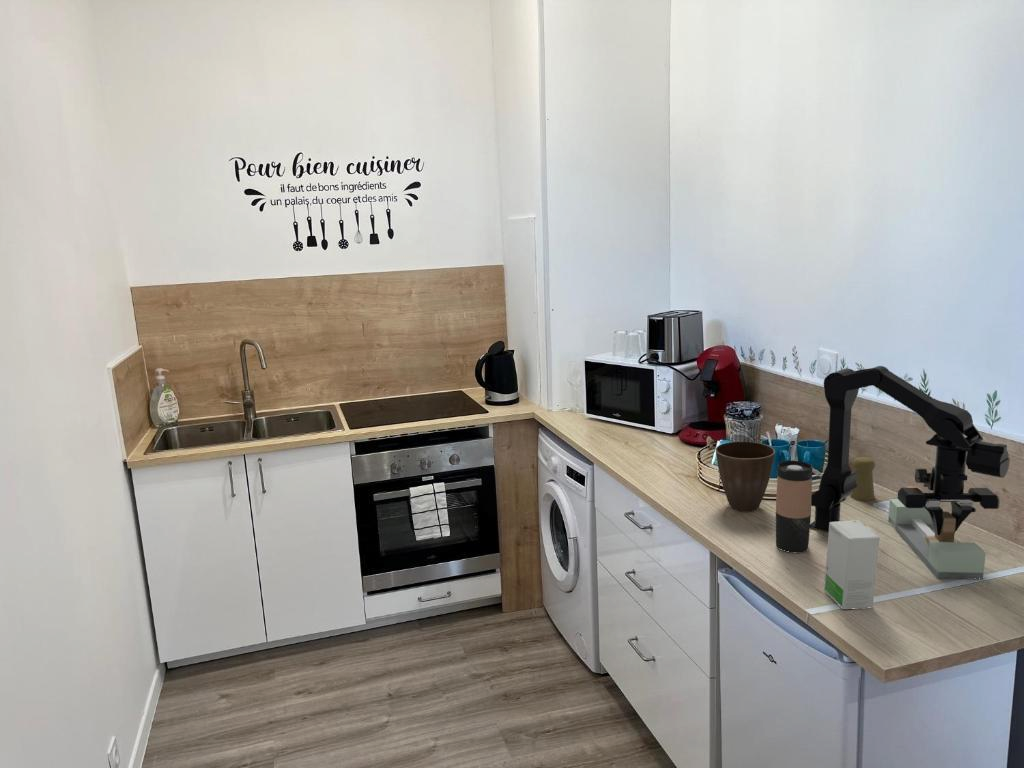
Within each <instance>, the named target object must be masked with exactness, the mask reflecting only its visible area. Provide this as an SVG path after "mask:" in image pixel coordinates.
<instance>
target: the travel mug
mask: <svg viewBox="0 0 1024 768" xmlns="http://www.w3.org/2000/svg"><path fill="white" fill-rule="evenodd" d="M812 488H813V465H812V464H810V463H808V462H805V461H802V460H783V461H781V462H779V463H778V464H777V478H776V497H775V499H776V502H775V546H776V548H777V547H778V548H780V549H782V550H785V551H789V552H802V553H805V552H807V551H808V550H809V544H810V543H809V542H810V530H811V527H810V524H811V521H812V519H811V517H812V506H811V497H812V494H813V490H812ZM778 548H777V549H778ZM780 549H779V550H780ZM807 549H808V550H807ZM782 550H781V551H782ZM806 550H807V551H806ZM785 551H784V552H785ZM804 551H805V552H804ZM789 552H788V553H789Z"/></svg>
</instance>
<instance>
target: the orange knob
mask: <svg viewBox="0 0 1024 768" xmlns="http://www.w3.org/2000/svg"><path fill="white" fill-rule="evenodd" d="M906 488H918V489H920V490H921V491H922V488H920V487H918V486H910V485H909V486H907V487H906Z"/></svg>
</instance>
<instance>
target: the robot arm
mask: <svg viewBox="0 0 1024 768" xmlns="http://www.w3.org/2000/svg"><path fill="white" fill-rule="evenodd" d="M871 386H873V387H875V388H877V389H878V390H879V391H881V392H883V394H886V395H887V396H889V397H891V398H893V399H894V400H896V401H897V402H898V403H900V404H902V405H903V406H905V407H906V408H908V409H909V410H911V411H913V413H915V414H917V415H919V416H920V417H921V418H922V419H923V421H924V422H925V424H926V425H927V426H928V428H929V429H931V430H932V431H933V432H934V433H935V434H934V435H933V436H932V437H931V438H930V439H928V440H926V441H925V444H926V445H927V446H928V445H929V446H934V447H936V448H935V449H936V450H935V458H934V459H935V461H934V467H932V469H931V472H928V470H927V468H915V471H914V482H915V484H923V487H924V488H927V489H928V490H929V491H932V492H923V491H922V489H921V490H920V489H918V488H919V487H918V488H907V487H900V489H898V491H897V499H898V500H899V501H900V502H901V503H902V504H903V505H904V506H905V507H907V508H923V507H924V508H925V509H926V510H927V511H928V512H929V514H930V516H931V519H932V522H933V526H934V529H935V532H936V534H937V535H940V532H941V525H942V515H943V512H944V510H943V508H942V507H940V503H950V505H951V513H950V514H951V515H952V516H954V517H955V518H956V524H955V533H956V532H957V531H958V529H959V528H960V526H961V525H962V524H963V523H964V521H965V520H967V518H968V517H969V516H970V514H971V513H976V511H977V509H976V508H975V507H974V505H975V504H974V503H979V506H981V507H982V508H983V509H986V510H987V509H988V510H998V509H999V508H1000V497H999V496H998V495H997V494H996V493H994V492H993V491H992V490H990V489H989V488H988V487H970V488H969V489H968V492H964V489H965V488H964V487H965V481H968V475H967V474H966V467H967V469H968V470H970V471H971V472H972V473H976V474H981V475H985V476H991V477H995V478H1001V479H1004V478H1005V476H1006V475H1007V473H1008V471H1009V466H1010V459H1011V458H1010V456H1009V454H1010V453H1009V452H1008V450H1007V449H1008V446H1007V444H1003V443H991V442H986V441H983V440H984V438H983V436H982V435H981V433H980V432H979V430H978V429H977V428H976V427H975V425H974V422H973V416H972V414H971V413H970V412H969V411H967V410H966V409H964V408H962V407H959V406H957V405H954V404H952V403H949V402H945V401H941V400H938V399H936V398H934V397H932V396H930V394H928V393H925V392H924V391H923V390H921V389H919V388H917V387H916V386H914V385H912V384H911V383H910V382H909V381H906V380H904V379H903V378H901V377H900V376H898V375H897V374H895V373H893V372H892V371H890V370H889V369H888V367H885V366H884V365H878V366H875V367H871V368H863V369H858V370H853V369H851V368H849V367H848V368H843V369H841V370H837V371H835V372H832V373H829V374H828V375H826V377H825V378H824V379H823V389H824V390H823V391H824V397H825V400H826V402H827V404H828V406H829V422H828V423H829V425H828V446H827V463H826V464H827V465H826V466H825V468H824V471H823V473H822V475H821V479H820V481H819V486H818V490H817V491H815V492H814V493H812V497H811V507H815V508H814V520H813V522H810V529H811V528H812V529H815V530H819V531H823V532H828V533H829V522H838V521H841V503H842V502H845V501H846V499H847V498H848V497H850V495H851V494H852V493H853V492H854V489H855V488H857V484H856V478H857V472H855V471H852V469H851V466H850V463H849V461H850V459H849V458H850V441H851V427H852V426H851V423H852V408H853V405H854V403H855V401H856V400H857V399H856V398H857V396H858V394H859V390H860V389H861V388H867V387H871Z"/></svg>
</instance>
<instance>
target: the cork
mask: <svg viewBox="0 0 1024 768" xmlns="http://www.w3.org/2000/svg"><path fill="white" fill-rule="evenodd" d="M875 464H876V463H875V461H874V459H872V458H871V457H867V456H859V457H856V458H855V459H854V460H853V468H854V469H855V470H854V472H857V478H856V484H857V488H855V489H854V492H853V493H852V494H851V495H849V497H850V498H851V499H854V500H856V501H861V502H871V501H874V500H875V499H876V498H875V488H874V479H873V476H874V475H873V470H874V469H875V467H876V465H875Z"/></svg>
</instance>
